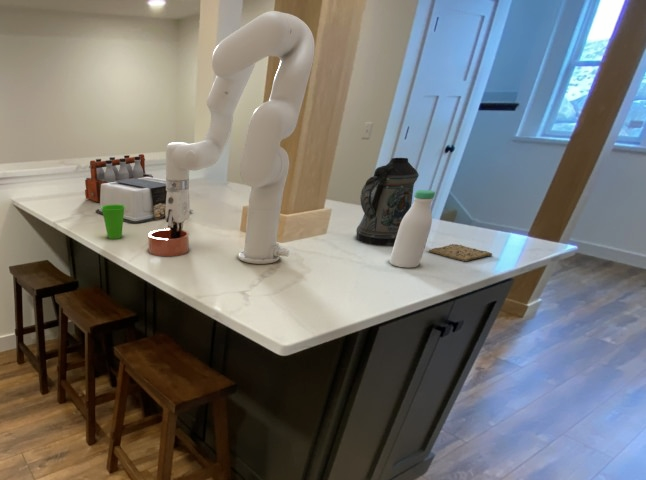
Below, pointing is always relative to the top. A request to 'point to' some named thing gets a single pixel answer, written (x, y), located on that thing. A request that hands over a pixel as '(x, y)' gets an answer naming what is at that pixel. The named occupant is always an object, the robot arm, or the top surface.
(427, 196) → the milk bottle
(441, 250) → the cookie
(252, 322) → the top surface
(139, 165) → the milk bottle holder
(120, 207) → the cup
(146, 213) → the cake box
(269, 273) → the top surface
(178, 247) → the bowl
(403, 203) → the beer stein
